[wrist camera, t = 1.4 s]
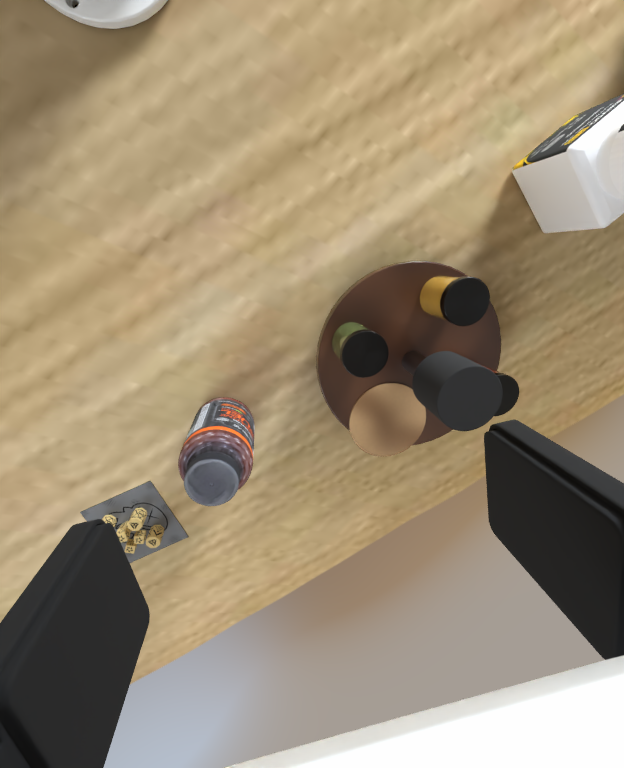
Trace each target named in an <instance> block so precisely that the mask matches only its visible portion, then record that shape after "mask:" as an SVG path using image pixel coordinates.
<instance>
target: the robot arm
mask: <svg viewBox="0 0 624 768" xmlns="http://www.w3.org/2000/svg"><path fill="white" fill-rule="evenodd" d="M44 1H45V2H47V3H48V4H50V5H51V6H52V7H54V8H55V9H56V10H58V11H59V12H61V13H62V14H64V15H66V16H68V17H70V18H72V19H74V20H76V21H78V22H80V23H83V24H87V25H90V26H94V27H97V28H110V29H118V28H124V27H130V26H134V25H136V24H138V23H141V22H143V21H145V20H147V19H149V18H150V17H151V16H153V15H154V14H155V13H156V12H158V11H159V10H160V9H161V8H162V7H163V6H164V4H165V3H166V2H167V1H168V0H44ZM76 4H78V6H77V7H76V8H74V6H75V5H76ZM484 446H485V463H486V479H487V480H486V481H487V498H488V512H489V513H488V514H489V522H490V526H491V529H492V530H493V532H494V534H495V535H496V536H497V537H498V539H499V540H500V541H501V542H502V543H503V544H504V545H505V547H506V548H507V549H508V550H509V551H510V552H511V554H512V555H513V556H514V557H515V558H516V559H517V560H518V561H519V563H520V564H521V565H522V566H523V567H524V568H525V570H526V571H527V572H528V573H529V574H530V575H531V576H532V578H533V579H534V580H535V581H536V582H537V583H538V584H539V586H540V587H541V588H542V589H543V590H544V591H545V592H546V594H547V595H548V596H549V597H550V598H551V599H552V600H553V601H554V603H555V604H556V605H557V606H558V607H559V608H560V610H561V611H562V612H563V613H564V614H565V615H566V616H567V618H568V619H569V620H570V621H571V622H572V623H573V624H574V626H576V628H577V629H578V630H579V631H580V632H581V634H582V635H583V636H584V637H585V638H586V639H587V640H588V642H589V643H590V644H591V645H592V646H593V647H594V648H595V650H596V651H597V652H598V653H599V654H600V655H601V656H602V657H603V658H604V659H605V660H603V661H600V662H596V663H592V664H588V665H585V666H581V667H578V668H574V669H570V670H567V671H563V672H560V673H556V674H553V675H549V676H545V677H542V678H538V679H534V680H531V681H528V682H524V683H520V684H517V685H513V686H509V687H506V688H502V689H499V690H495V691H491V692H488V693H484V694H480V695H477V696H473V697H470V698H466V699H463V700H459V701H456V702H452V703H448V704H445V705H441V706H438V707H434V708H430V709H427V710H423V711H420V712H417V713H413V714H409V715H406V716H402V717H399V718H395V719H392V720H388V721H385V722H382V723H378V724H374V725H371V726H367V727H364V728H360V729H357V730H354V731H350V732H346V733H343V734H339V735H336V736H332V737H329V738H326V739H322V740H318V741H315V742H312V743H308V744H304V745H301V746H297V747H294V748H290V749H287V750H283V751H280V752H276V753H273V754H269V755H266V756H262V757H259V758H255V759H252V760H248V761H245V762H242V763H238V764H235V765H231V766H228V767H224V768H624V483H622V482H620V481H618V480H617V479H615V478H613V477H612V476H610V475H608V474H606V473H605V472H603V471H602V470H600V469H598V468H596V467H595V466H593V465H592V464H590V463H588V462H587V461H585V460H583V459H581V458H580V457H578V456H576V455H575V454H573V453H571V452H570V451H568V450H566V449H565V448H563V447H561V446H560V445H558V444H556V443H554V442H553V441H551V440H550V439H548V438H546V437H545V436H543V435H541V434H539V433H538V432H536V431H534V430H533V429H531V428H529V427H528V426H526V425H524V424H523V423H521V422H519V421H517V420H510V421H505V422H501V423H497V424H493V425H491V426H490V429H489V431H488V432H486V433H485V435H484ZM148 624H149V608H148V605H147V603H146V601H145V598H144V596H143V594H142V591H141V589H140V587H139V584H138V582H137V580H136V577H135V575H134V573H133V570H132V568H131V566H130V563H129V561H128V559H127V556H126V554H125V552H124V549H123V547H122V545H121V542H120V540H119V538H118V535H117V533H116V531H115V528H114V527H113V525H112V524H111V523H105V522H104V521H103V520H102V519H96V520H92V521H88V522H83V523H79V524H75V525H73V526H72V527H71V528H70V529H69V530H68V532H67V533H66V535H65V536H64V537H63V539H62V540H61V541H60V543H59V544H58V545H57V547H56V548H55V550H54V551H53V552H52V554H51V555H50V556H49V558H48V559H47V560H46V562H45V563H44V564H43V566H42V567H41V569H40V570H39V571H38V573H37V574H36V575H35V577H34V578H33V579H32V581H31V582H30V583H29V585H28V586H27V588H26V589H25V590H24V592H23V593H22V594H21V596H20V597H19V598H18V600H17V601H16V603H15V604H14V605H13V607H12V608H11V609H10V611H9V612H8V613H7V615H6V616H5V617H4V619H3V620H2V622H1V623H0V768H103V767H104V764H105V761H106V757H107V754H108V751H109V748H110V745H111V742H112V738H113V735H114V732H115V729H116V726H117V723H118V719H119V716H120V713H121V710H122V707H123V704H124V701H125V697H126V694H127V691H128V688H129V685H130V682H131V678H132V675H133V672H134V669H135V666H136V663H137V660H138V656H139V653H140V650H141V647H142V644H143V641H144V637H145V634H146V631H147V628H148Z"/></svg>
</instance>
